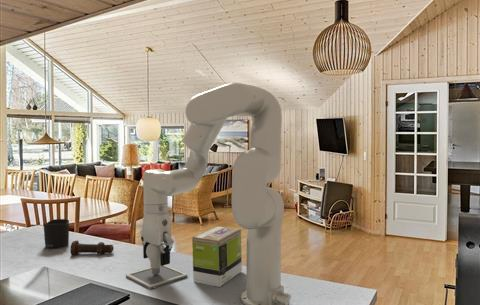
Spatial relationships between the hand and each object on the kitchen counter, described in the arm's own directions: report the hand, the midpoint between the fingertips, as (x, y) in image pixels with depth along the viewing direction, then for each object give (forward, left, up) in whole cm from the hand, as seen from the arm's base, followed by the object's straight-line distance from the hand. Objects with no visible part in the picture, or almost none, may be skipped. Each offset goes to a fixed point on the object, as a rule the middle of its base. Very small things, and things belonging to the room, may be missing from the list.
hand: (156, 260), depth 128 cm
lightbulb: (0, 0, -5) cm, 5 cm away
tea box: (-14, -14, -6) cm, 21 cm away
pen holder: (+58, +9, -6) cm, 59 cm away
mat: (0, 0, -5) cm, 5 cm away
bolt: (+37, +4, -6) cm, 38 cm away
